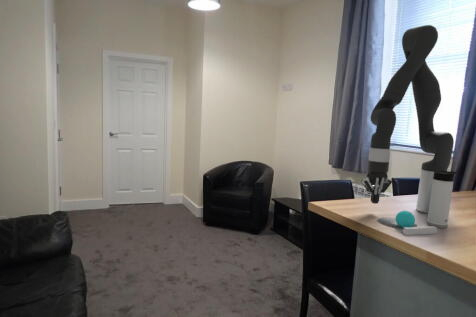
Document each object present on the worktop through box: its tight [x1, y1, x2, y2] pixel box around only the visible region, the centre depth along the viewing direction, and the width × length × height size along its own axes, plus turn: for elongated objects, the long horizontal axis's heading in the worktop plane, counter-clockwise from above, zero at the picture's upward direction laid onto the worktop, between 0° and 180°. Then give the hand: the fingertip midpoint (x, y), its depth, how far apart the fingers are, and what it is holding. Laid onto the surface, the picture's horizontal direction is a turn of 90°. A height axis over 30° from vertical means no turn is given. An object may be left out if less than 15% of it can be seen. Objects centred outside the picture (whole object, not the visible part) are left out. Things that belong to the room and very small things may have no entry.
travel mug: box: [426, 170, 457, 229], centre depth 120 cm, size 6×7×20 cm
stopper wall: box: [402, 225, 438, 236], centre depth 112 cm, size 12×2×2 cm, turn 106°
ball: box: [395, 210, 416, 228], centre depth 116 cm, size 6×6×6 cm
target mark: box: [377, 216, 418, 230], centre depth 122 cm, size 13×13×1 cm
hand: (374, 203), depth 134 cm, fingers closed
